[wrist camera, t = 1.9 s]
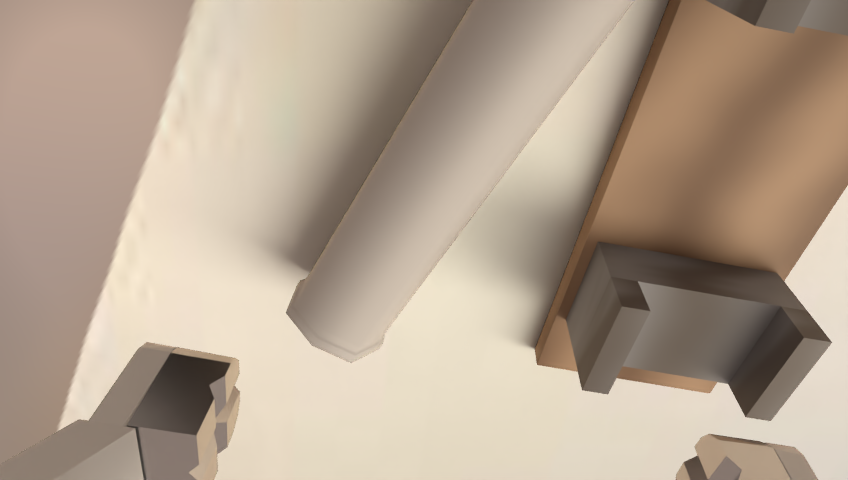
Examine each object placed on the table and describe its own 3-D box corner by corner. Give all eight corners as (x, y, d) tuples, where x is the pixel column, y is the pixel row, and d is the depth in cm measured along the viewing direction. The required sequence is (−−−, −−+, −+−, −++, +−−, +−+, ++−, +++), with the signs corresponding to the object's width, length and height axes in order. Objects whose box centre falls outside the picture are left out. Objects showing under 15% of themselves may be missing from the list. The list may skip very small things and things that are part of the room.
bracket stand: (1095, -242, 17) (1350, -289, 12) (702, 377, 33) (745, 468, 28) (788, -311, 17) (925, -388, 12) (534, 349, 32) (547, 436, 27)
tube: (624, -316, 15) (266, 311, 27) (795, -199, 14) (355, 380, 26) (626, -238, 19) (321, 266, 31) (755, -149, 19) (397, 324, 31)
